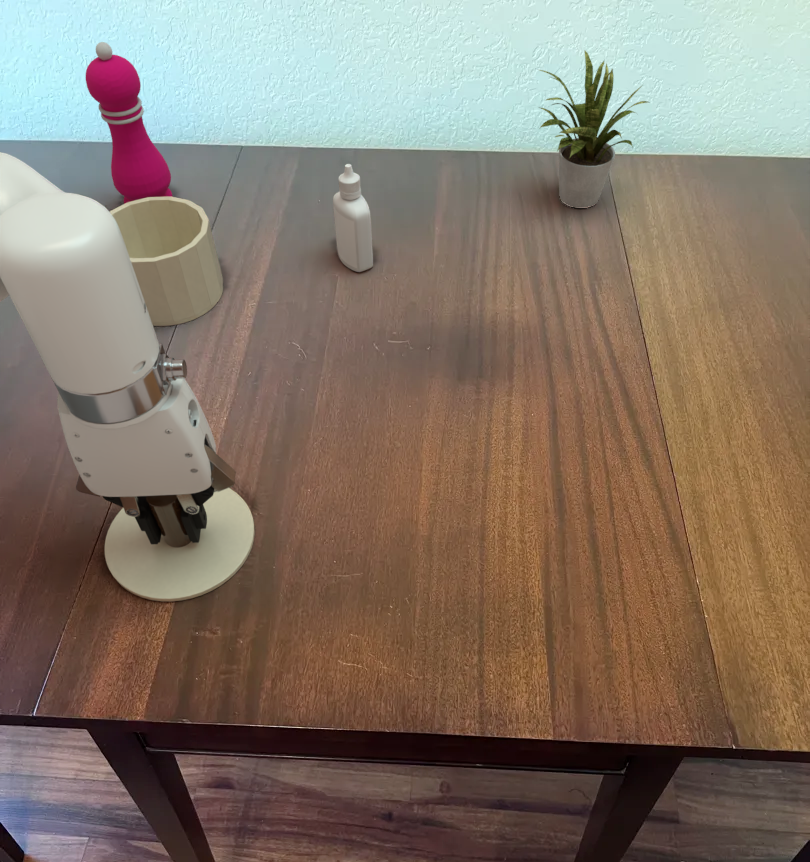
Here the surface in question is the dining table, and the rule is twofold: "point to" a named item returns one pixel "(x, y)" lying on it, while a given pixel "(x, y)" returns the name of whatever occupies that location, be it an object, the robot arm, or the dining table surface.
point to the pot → (171, 257)
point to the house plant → (587, 140)
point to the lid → (180, 548)
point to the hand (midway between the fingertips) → (177, 529)
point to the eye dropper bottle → (352, 223)
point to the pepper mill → (126, 127)
